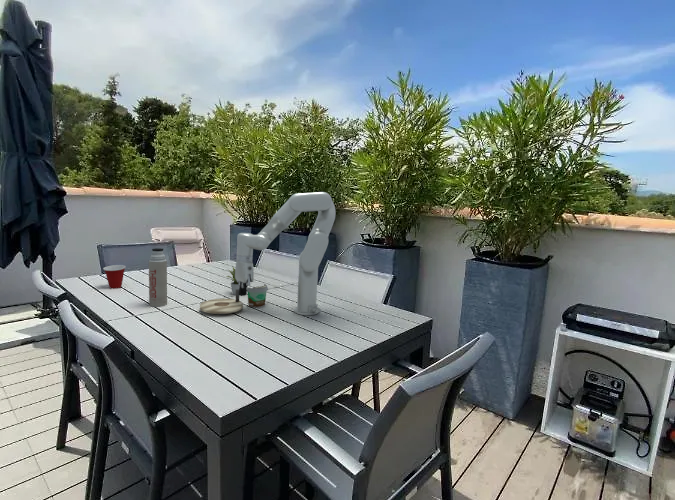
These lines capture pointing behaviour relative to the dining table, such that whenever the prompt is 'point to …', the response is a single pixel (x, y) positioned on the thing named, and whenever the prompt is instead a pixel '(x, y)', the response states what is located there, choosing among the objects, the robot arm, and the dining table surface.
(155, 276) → the thermos bottle
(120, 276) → the plastic cup
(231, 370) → the dining table surface
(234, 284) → the house plant
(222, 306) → the turntable
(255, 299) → the food container
